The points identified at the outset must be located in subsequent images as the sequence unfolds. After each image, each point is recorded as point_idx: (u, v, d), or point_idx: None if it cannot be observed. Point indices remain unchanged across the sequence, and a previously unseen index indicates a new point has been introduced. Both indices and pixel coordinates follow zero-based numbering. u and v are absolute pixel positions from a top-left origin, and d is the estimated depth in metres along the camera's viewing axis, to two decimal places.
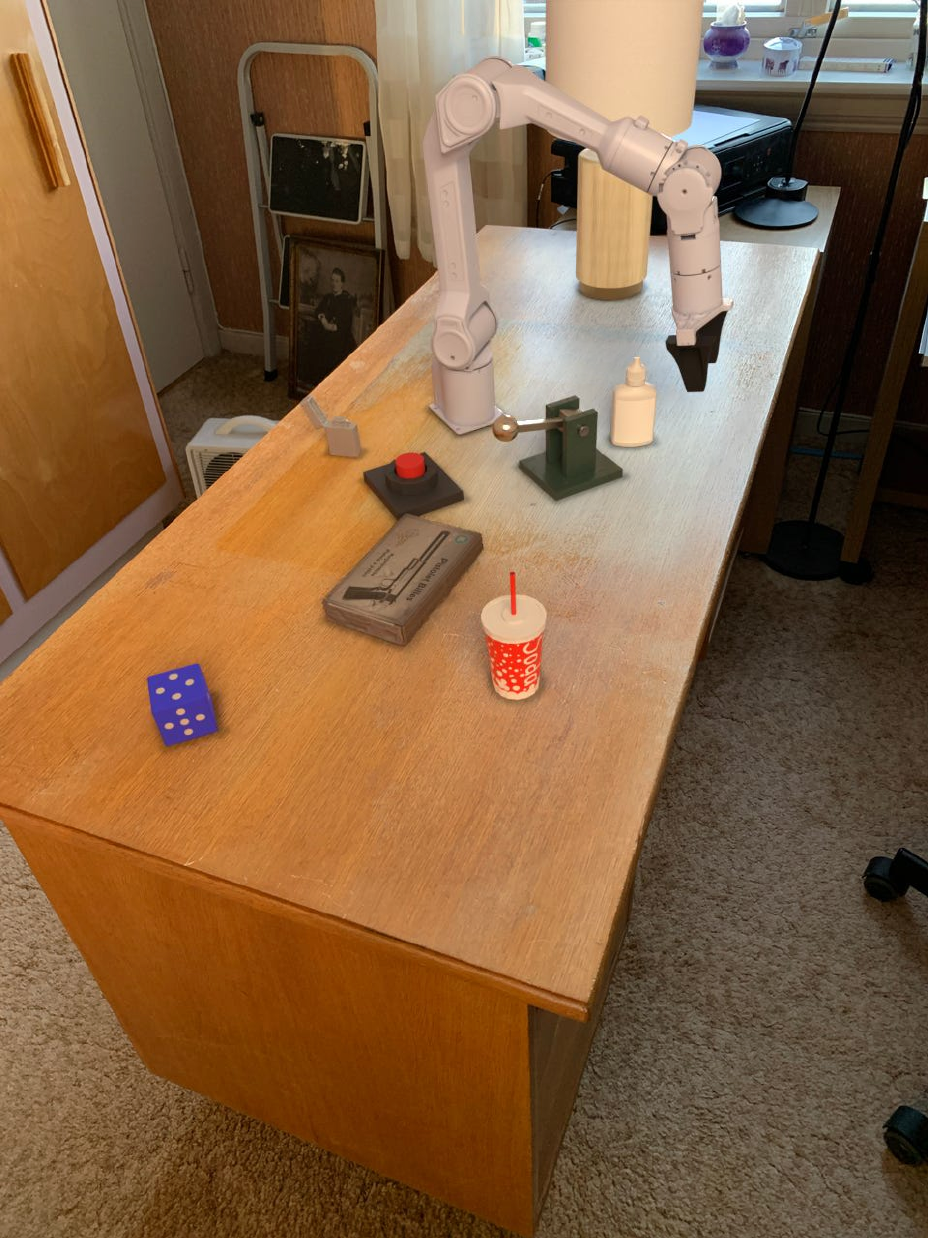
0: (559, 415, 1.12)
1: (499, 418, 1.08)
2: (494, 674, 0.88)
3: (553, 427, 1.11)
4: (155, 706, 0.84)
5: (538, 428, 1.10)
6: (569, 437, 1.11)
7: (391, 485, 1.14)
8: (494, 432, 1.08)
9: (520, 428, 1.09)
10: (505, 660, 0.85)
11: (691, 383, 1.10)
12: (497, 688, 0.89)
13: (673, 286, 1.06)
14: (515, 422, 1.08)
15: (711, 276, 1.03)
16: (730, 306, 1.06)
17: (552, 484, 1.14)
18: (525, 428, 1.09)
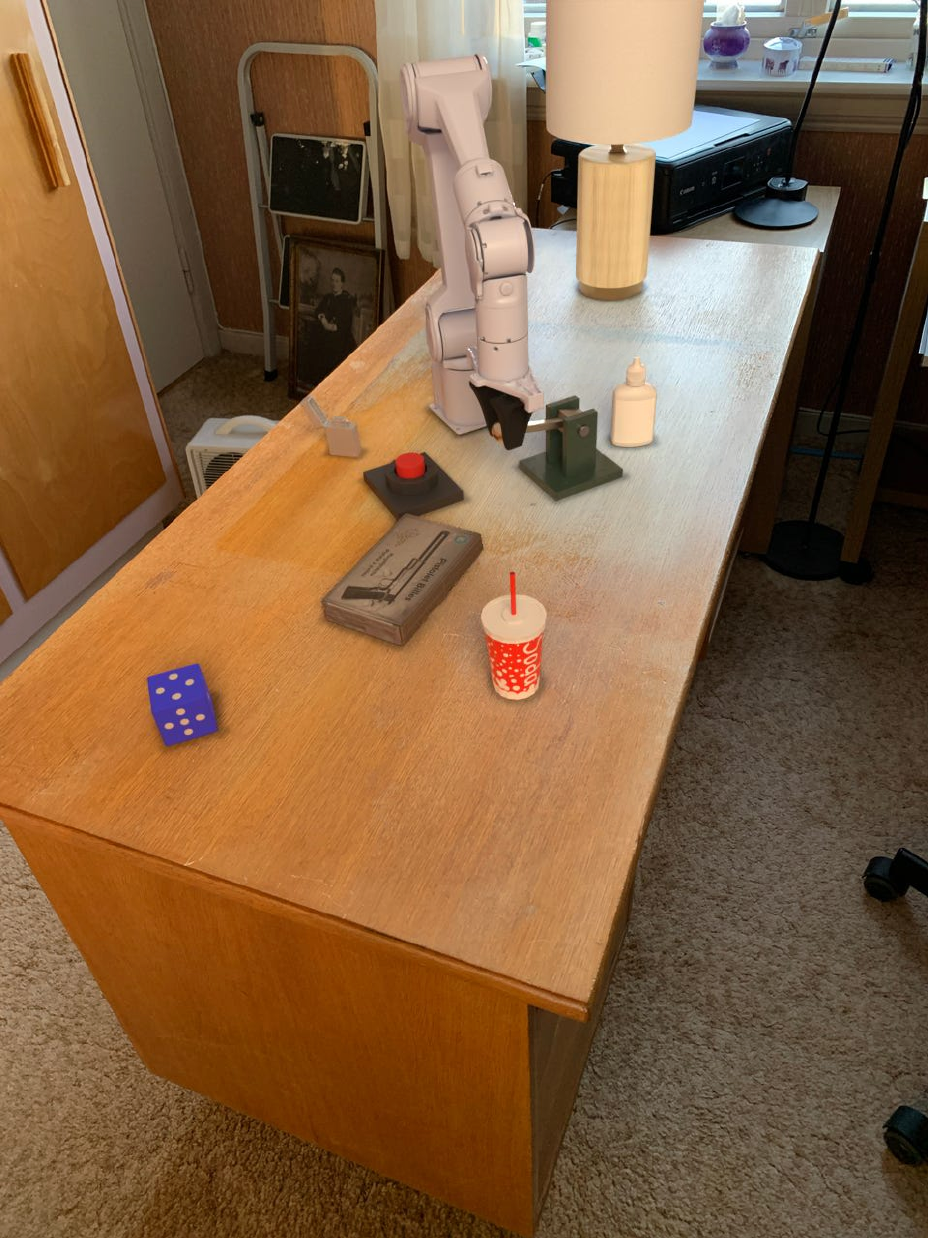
0: (559, 415, 1.12)
1: (498, 420, 1.08)
2: (494, 674, 0.88)
3: (553, 428, 1.11)
4: (155, 706, 0.84)
5: (538, 429, 1.10)
6: (569, 437, 1.11)
7: (391, 485, 1.14)
8: (494, 434, 1.08)
9: None
10: (505, 660, 0.85)
11: None
12: (497, 688, 0.89)
13: None
14: None
15: None
16: (470, 377, 1.03)
17: (552, 484, 1.14)
18: None
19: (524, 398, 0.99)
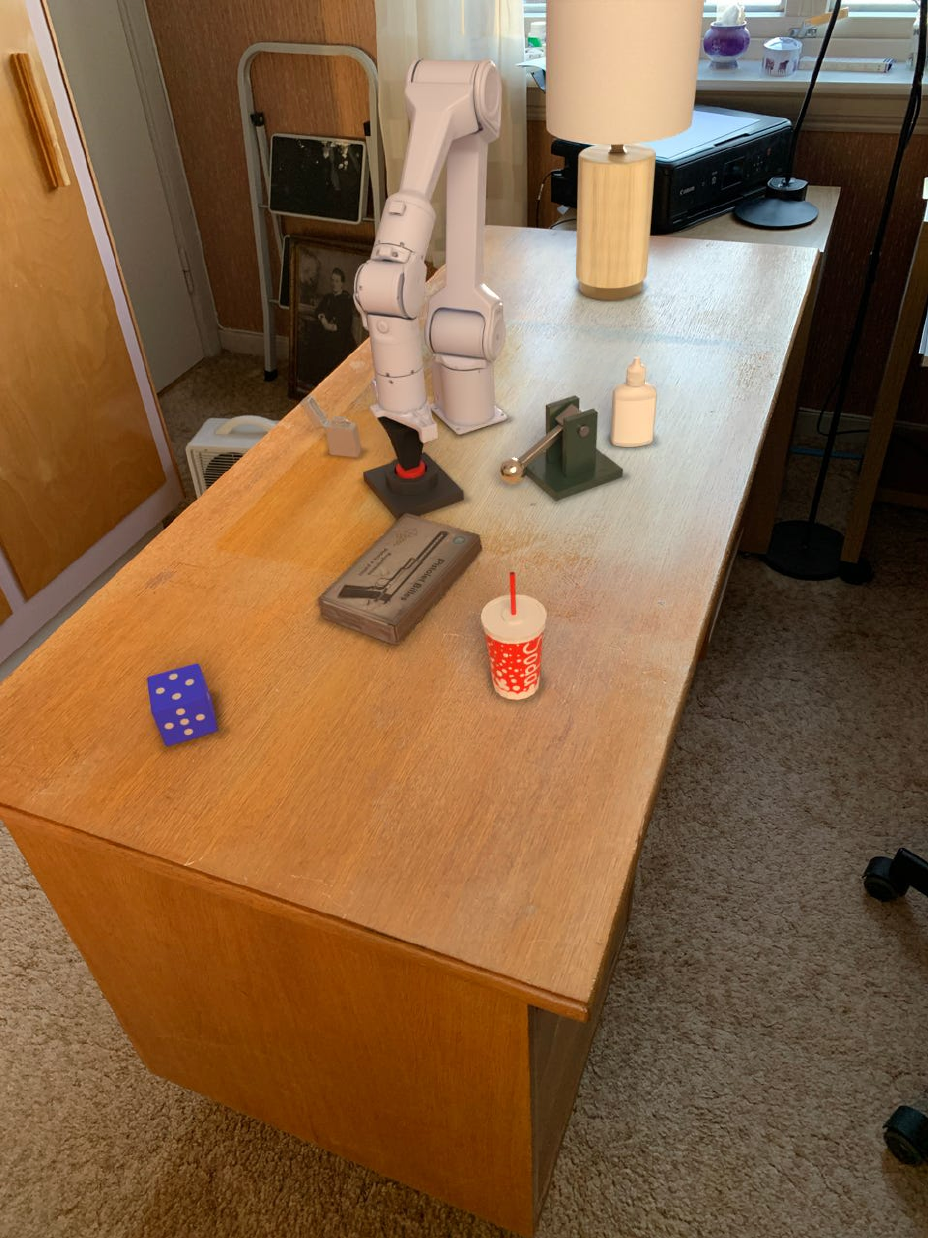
0: (557, 423, 1.13)
1: (501, 468, 1.12)
2: (494, 674, 0.88)
3: (556, 439, 1.13)
4: (155, 706, 0.84)
5: (542, 451, 1.13)
6: (569, 437, 1.11)
7: (391, 485, 1.14)
8: None
9: (525, 463, 1.13)
10: (505, 660, 0.85)
11: None
12: (497, 688, 0.89)
13: None
14: (516, 465, 1.12)
15: None
16: (370, 408, 1.08)
17: (552, 484, 1.14)
18: (530, 459, 1.13)
19: (418, 429, 1.04)
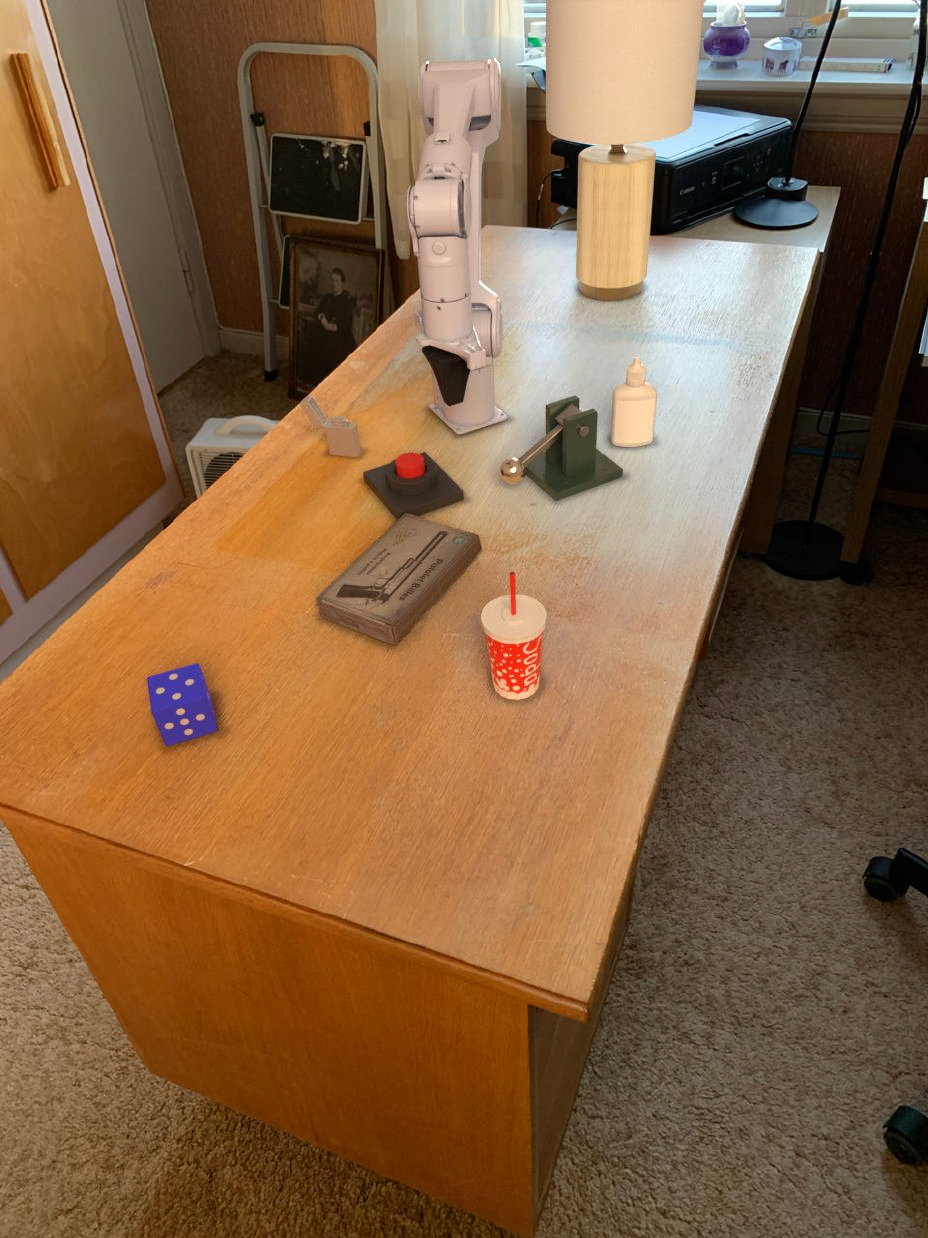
0: (557, 423, 1.13)
1: (501, 468, 1.12)
2: (494, 674, 0.88)
3: (556, 439, 1.13)
4: (155, 706, 0.84)
5: (542, 451, 1.13)
6: (569, 437, 1.11)
7: (391, 485, 1.14)
8: None
9: (525, 463, 1.13)
10: (505, 660, 0.85)
11: None
12: (497, 688, 0.89)
13: None
14: (516, 465, 1.12)
15: (422, 297, 1.04)
16: (415, 338, 1.06)
17: (552, 484, 1.14)
18: (530, 459, 1.13)
19: (466, 356, 1.02)
